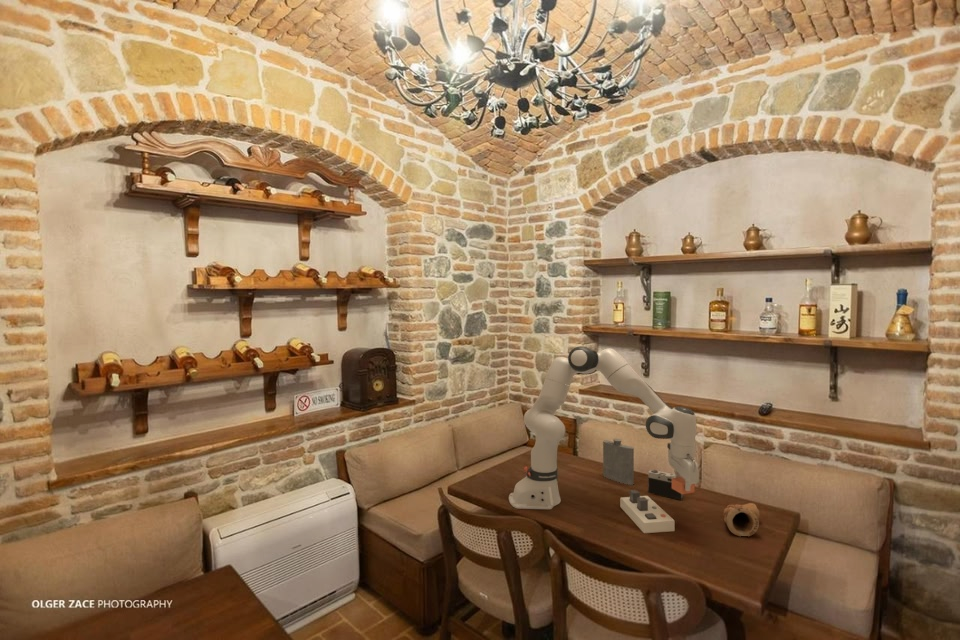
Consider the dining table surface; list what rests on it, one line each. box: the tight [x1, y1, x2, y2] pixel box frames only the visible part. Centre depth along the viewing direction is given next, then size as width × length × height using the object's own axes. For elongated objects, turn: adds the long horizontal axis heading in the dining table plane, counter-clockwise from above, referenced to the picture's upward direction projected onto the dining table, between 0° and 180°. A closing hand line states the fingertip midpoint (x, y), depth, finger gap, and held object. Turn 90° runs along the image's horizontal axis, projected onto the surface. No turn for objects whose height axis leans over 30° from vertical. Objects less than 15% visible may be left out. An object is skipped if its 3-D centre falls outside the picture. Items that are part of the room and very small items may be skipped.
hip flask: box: [602, 438, 635, 486], centre depth 225 cm, size 16×4×20 cm, turn 42°
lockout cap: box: [672, 477, 696, 495], centre depth 179 cm, size 6×6×4 cm
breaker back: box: [629, 489, 641, 503], centre depth 194 cm, size 3×3×4 cm
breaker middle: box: [637, 497, 648, 511], centre depth 187 cm, size 3×3×4 cm
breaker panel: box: [619, 495, 676, 534], centre depth 187 cm, size 12×22×4 cm, turn 6°
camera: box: [647, 469, 684, 501], centre depth 210 cm, size 14×8×10 cm, turn 53°
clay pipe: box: [722, 502, 761, 537], centre depth 178 cm, size 19×11×15 cm
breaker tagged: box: [645, 513, 656, 520], centre depth 180 cm, size 3×3×4 cm
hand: (682, 485), depth 179 cm, fingers closed on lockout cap, 7 cm apart
